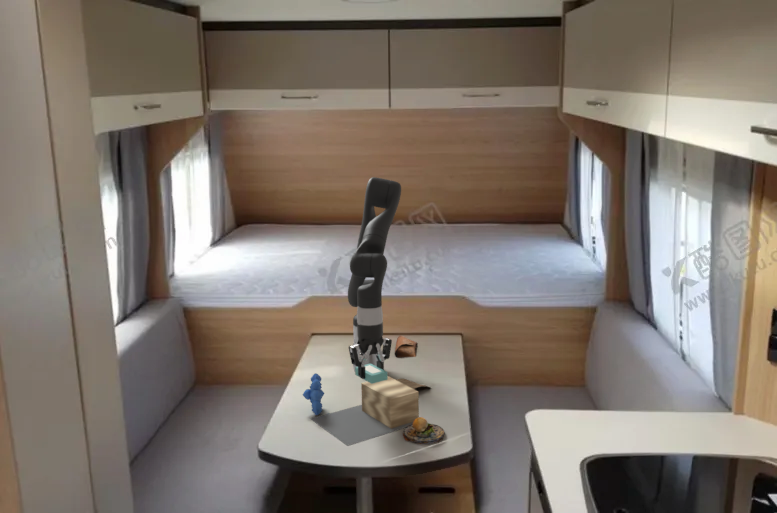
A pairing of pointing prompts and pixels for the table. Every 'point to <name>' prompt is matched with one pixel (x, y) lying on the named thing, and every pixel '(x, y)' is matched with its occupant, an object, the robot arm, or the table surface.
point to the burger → (423, 432)
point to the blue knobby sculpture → (315, 394)
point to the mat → (354, 425)
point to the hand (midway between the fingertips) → (371, 375)
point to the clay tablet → (410, 383)
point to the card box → (373, 373)
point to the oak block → (390, 402)
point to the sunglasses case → (405, 347)
